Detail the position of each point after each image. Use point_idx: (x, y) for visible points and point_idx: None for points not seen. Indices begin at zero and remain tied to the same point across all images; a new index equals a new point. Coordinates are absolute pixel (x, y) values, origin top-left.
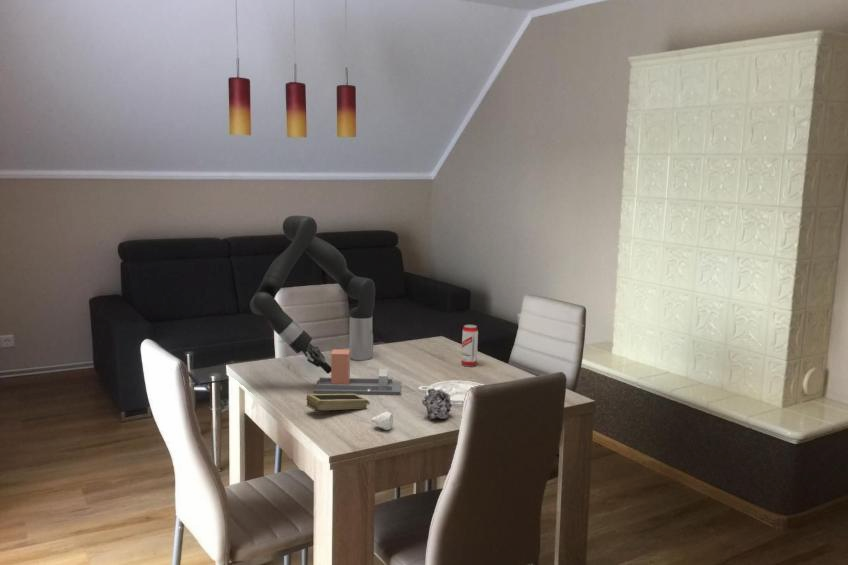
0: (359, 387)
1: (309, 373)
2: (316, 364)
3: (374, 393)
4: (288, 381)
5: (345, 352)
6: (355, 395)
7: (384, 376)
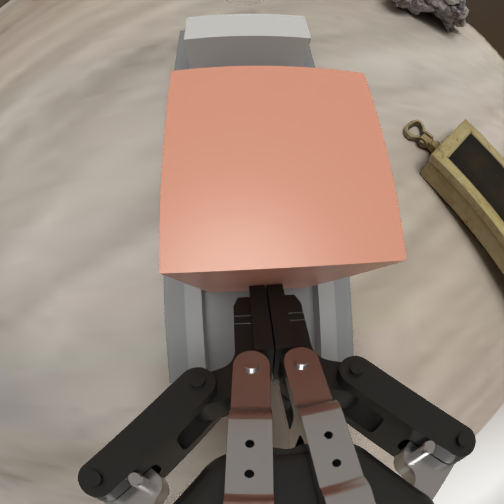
0: None
1: (45, 416)
2: (366, 405)
3: None
4: (170, 497)
5: (305, 97)
6: (451, 154)
7: (305, 23)
